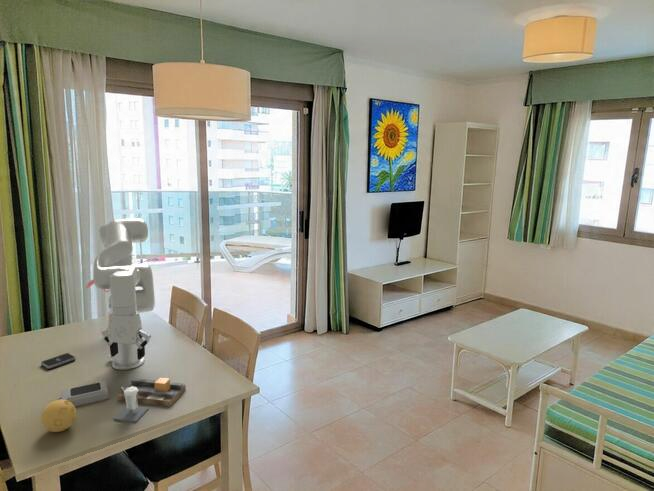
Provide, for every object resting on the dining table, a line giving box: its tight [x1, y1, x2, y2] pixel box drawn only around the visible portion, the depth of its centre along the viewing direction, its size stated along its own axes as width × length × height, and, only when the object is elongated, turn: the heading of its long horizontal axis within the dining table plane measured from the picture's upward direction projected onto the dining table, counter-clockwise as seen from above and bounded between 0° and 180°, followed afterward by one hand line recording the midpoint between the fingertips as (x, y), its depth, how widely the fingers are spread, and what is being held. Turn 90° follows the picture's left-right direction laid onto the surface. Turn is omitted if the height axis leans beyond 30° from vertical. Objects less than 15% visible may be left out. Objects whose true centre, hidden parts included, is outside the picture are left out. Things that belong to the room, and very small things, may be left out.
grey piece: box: [117, 377, 187, 407], centre depth 167 cm, size 20×12×4 cm, turn 81°
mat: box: [113, 406, 150, 423], centre depth 154 cm, size 8×8×1 cm
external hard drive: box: [40, 352, 76, 371], centre depth 189 cm, size 7×11×2 cm, turn 145°
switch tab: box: [154, 377, 171, 391], centre depth 165 cm, size 4×4×4 cm
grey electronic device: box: [60, 380, 110, 407], centre depth 164 cm, size 10×4×15 cm
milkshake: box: [121, 386, 139, 415], centre depth 153 cm, size 4×5×10 cm
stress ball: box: [40, 398, 77, 433], centre depth 144 cm, size 10×10×10 cm
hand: (127, 356), depth 152 cm, fingers open, 9 cm apart
